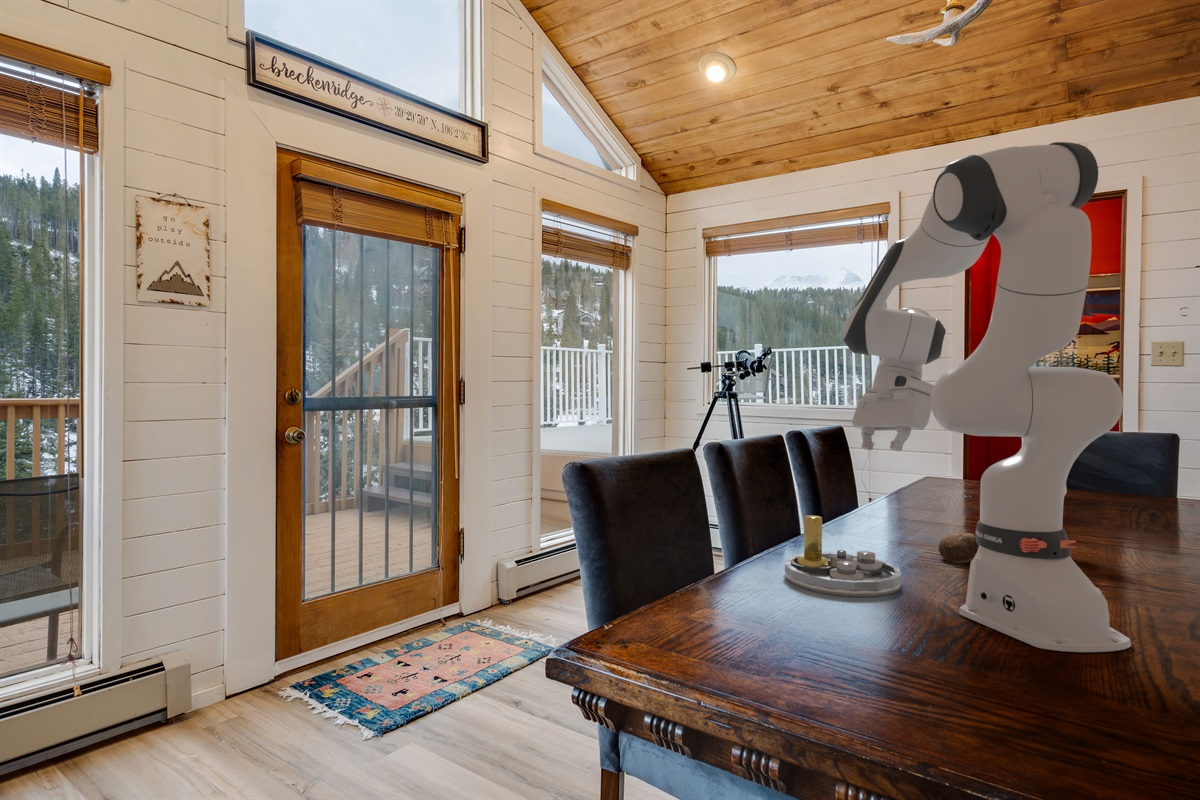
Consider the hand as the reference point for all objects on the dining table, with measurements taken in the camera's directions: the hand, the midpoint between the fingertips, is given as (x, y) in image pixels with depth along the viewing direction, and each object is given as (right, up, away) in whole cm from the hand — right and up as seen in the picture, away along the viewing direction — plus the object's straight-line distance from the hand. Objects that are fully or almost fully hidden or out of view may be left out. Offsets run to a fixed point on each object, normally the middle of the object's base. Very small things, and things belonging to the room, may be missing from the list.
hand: (880, 450), depth 140 cm
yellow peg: (-17, -22, -11) cm, 30 cm away
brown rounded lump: (+16, -23, 0) cm, 28 cm away
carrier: (-13, -23, -14) cm, 30 cm away
